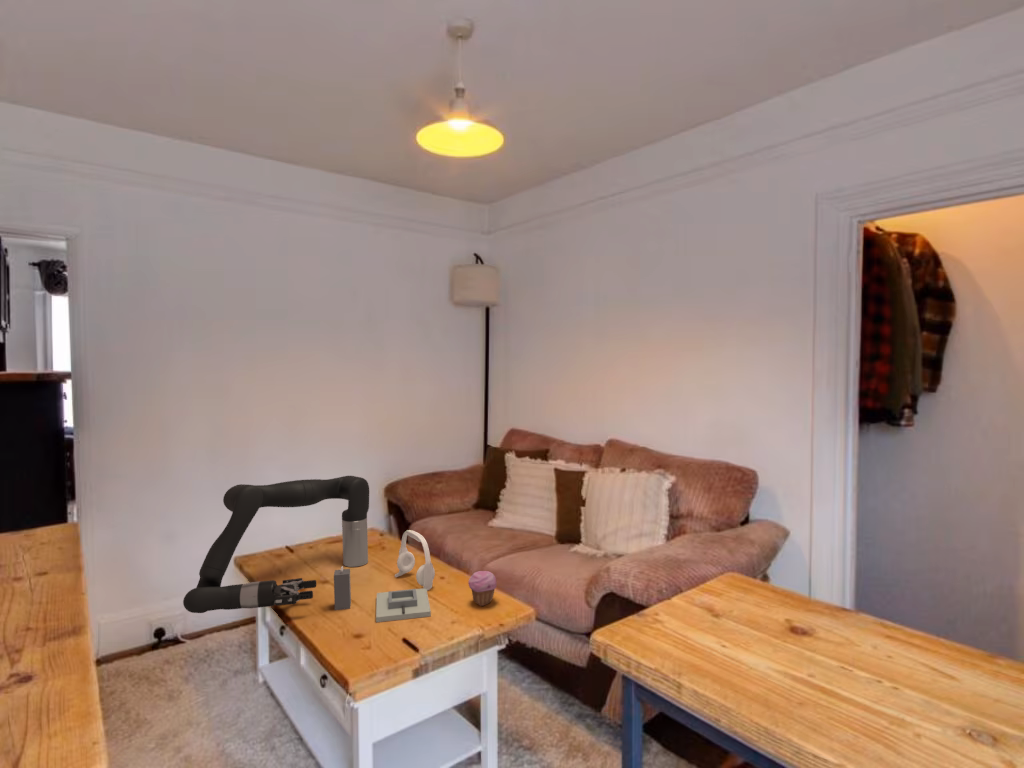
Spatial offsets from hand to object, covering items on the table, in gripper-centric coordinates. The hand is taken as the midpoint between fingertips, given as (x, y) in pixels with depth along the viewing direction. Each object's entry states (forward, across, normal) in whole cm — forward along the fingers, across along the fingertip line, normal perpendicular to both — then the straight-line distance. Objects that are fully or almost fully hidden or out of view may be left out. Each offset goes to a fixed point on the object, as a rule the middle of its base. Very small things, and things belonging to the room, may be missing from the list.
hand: (314, 588), depth 177 cm
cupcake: (+52, -8, +7) cm, 53 cm away
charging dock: (+27, -5, +6) cm, 28 cm away
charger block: (+8, 0, +6) cm, 11 cm away
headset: (+32, +13, +7) cm, 35 cm away
